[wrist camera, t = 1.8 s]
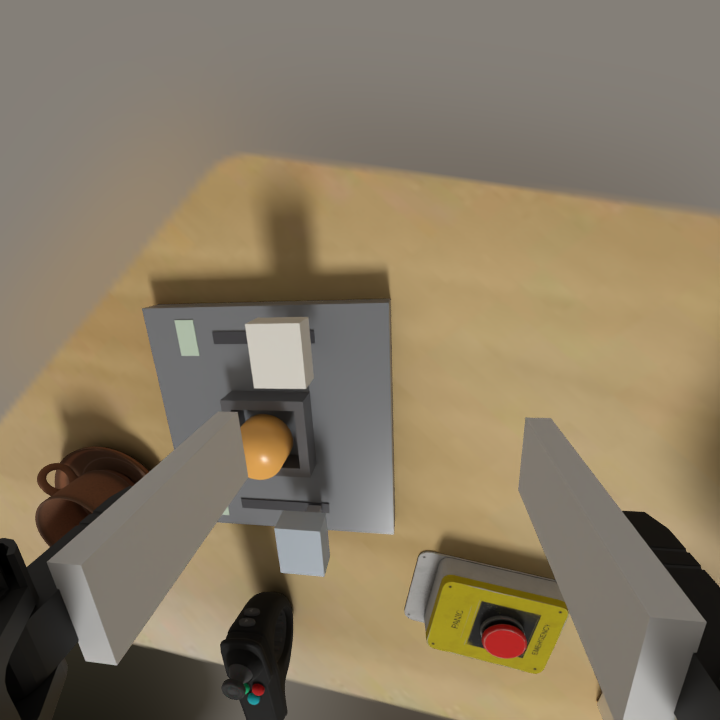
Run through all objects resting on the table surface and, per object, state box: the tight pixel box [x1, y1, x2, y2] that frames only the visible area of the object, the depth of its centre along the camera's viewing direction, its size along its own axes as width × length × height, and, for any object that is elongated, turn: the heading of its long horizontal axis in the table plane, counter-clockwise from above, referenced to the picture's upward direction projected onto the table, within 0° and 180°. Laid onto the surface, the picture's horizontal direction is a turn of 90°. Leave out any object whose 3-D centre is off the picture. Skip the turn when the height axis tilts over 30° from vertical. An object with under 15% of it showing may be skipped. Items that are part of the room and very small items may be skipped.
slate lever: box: [274, 505, 330, 577], centre depth 31 cm, size 4×4×5 cm
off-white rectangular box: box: [245, 317, 314, 389], centre depth 26 cm, size 4×4×5 cm
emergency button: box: [405, 551, 569, 674], centre depth 35 cm, size 9×4×15 cm
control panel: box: [142, 299, 395, 534], centre depth 31 cm, size 20×21×4 cm
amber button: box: [240, 414, 293, 480], centre depth 29 cm, size 4×4×2 cm
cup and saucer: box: [35, 447, 149, 547], centre depth 36 cm, size 12×12×6 cm
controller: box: [220, 592, 293, 720], centre depth 36 cm, size 4×12×10 cm, turn 7°
